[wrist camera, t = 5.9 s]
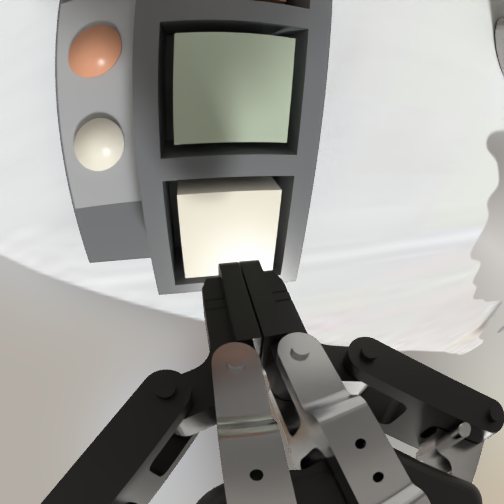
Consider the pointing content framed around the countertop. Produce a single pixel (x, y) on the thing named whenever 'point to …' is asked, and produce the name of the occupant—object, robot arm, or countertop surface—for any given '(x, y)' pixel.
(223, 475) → the robot arm
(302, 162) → the keypad
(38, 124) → the countertop surface
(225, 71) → the key sage
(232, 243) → the key cream
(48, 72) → the countertop surface
